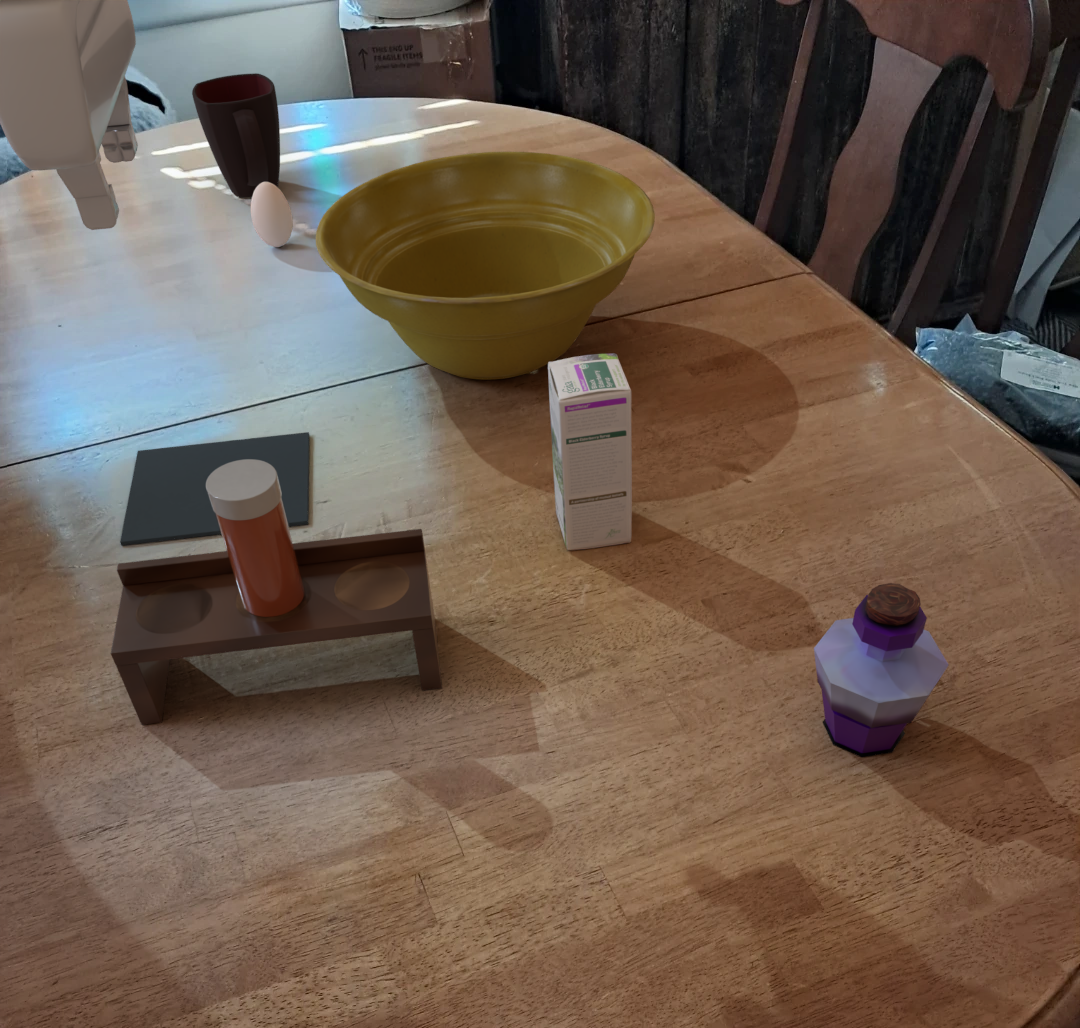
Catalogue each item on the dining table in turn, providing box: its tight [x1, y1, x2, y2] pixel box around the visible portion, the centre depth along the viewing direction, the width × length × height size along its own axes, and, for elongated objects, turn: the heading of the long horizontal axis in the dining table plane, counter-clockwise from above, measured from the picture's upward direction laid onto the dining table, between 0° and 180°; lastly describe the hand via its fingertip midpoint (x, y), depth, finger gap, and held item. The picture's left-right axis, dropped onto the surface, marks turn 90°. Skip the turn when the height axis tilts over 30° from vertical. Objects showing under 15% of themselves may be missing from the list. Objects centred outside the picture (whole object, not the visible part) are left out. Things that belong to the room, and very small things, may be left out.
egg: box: [250, 182, 294, 248], centre depth 135 cm, size 5×5×7 cm
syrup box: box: [547, 352, 633, 551], centre depth 92 cm, size 6×6×14 cm
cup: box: [191, 73, 281, 199], centre depth 144 cm, size 10×14×12 cm
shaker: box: [206, 459, 305, 617], centre depth 78 cm, size 5×5×10 cm
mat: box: [119, 431, 310, 546], centre depth 104 cm, size 16×14×1 cm
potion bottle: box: [813, 582, 950, 758], centre depth 76 cm, size 9×9×12 cm
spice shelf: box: [110, 528, 443, 726], centre depth 84 cm, size 22×8×9 cm, turn 98°
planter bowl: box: [315, 151, 656, 381], centre depth 114 cm, size 32×32×13 cm
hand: (114, 189), depth 67 cm, fingers open, 8 cm apart
